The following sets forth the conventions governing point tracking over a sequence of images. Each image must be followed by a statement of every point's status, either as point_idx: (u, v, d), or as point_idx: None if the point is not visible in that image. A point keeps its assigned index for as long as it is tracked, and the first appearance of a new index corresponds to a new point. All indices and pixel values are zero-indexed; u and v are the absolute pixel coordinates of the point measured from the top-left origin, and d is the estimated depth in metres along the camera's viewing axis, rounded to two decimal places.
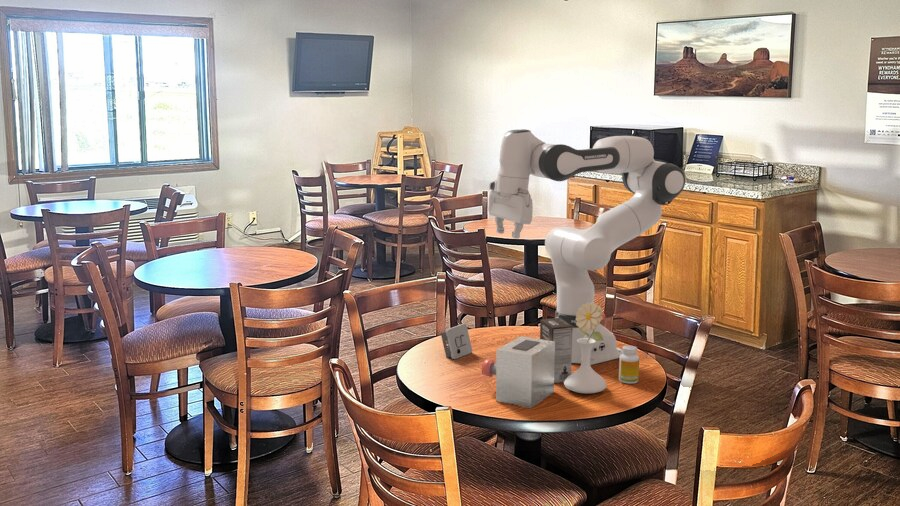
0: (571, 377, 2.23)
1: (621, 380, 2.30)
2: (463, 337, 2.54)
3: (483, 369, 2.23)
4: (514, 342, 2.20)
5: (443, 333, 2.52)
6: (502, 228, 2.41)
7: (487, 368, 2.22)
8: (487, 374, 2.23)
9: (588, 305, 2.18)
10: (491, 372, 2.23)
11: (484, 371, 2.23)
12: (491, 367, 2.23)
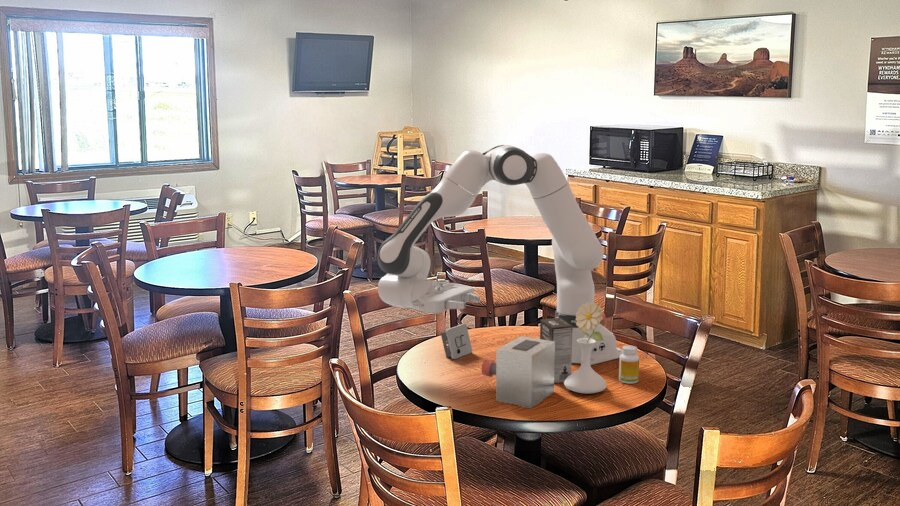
0: (571, 377, 2.23)
1: (621, 380, 2.30)
2: (463, 337, 2.54)
3: (483, 369, 2.23)
4: (514, 342, 2.20)
5: (443, 333, 2.52)
6: (473, 298, 2.32)
7: (487, 368, 2.22)
8: (487, 374, 2.23)
9: (588, 305, 2.18)
10: (491, 372, 2.23)
11: (484, 371, 2.23)
12: (491, 367, 2.23)
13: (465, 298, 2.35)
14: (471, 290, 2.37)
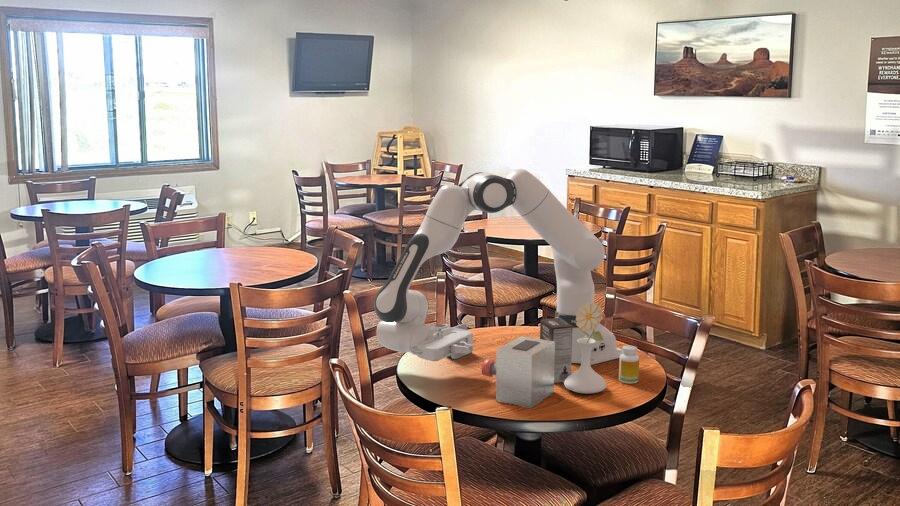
0: (571, 377, 2.23)
1: (621, 380, 2.30)
2: None
3: (483, 369, 2.23)
4: (514, 342, 2.20)
5: None
6: None
7: (487, 368, 2.22)
8: (487, 374, 2.23)
9: (588, 305, 2.18)
10: (491, 372, 2.23)
11: (484, 371, 2.23)
12: (491, 367, 2.23)
13: None
14: (470, 335, 2.36)
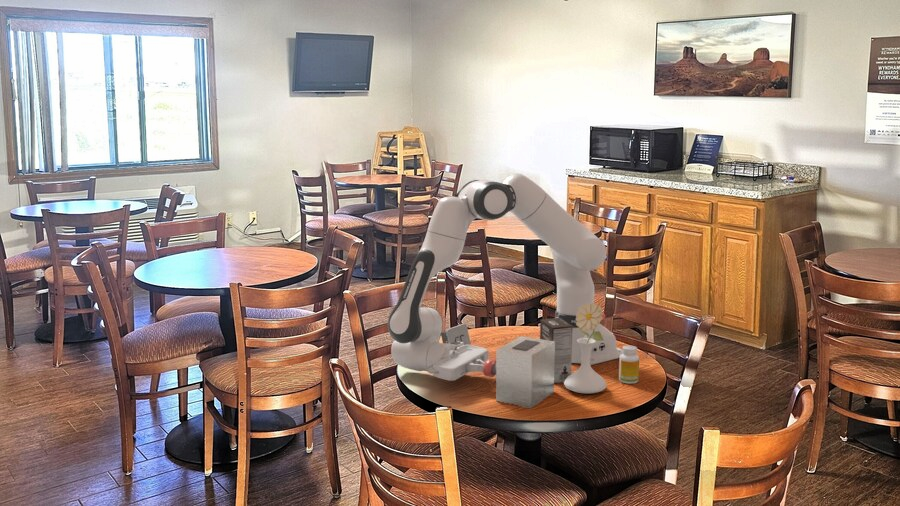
0: (571, 377, 2.23)
1: (621, 380, 2.30)
2: (463, 337, 2.54)
3: (485, 369, 2.23)
4: (514, 342, 2.20)
5: (443, 333, 2.52)
6: None
7: (488, 368, 2.22)
8: (489, 374, 2.23)
9: (588, 305, 2.18)
10: (493, 372, 2.23)
11: (485, 371, 2.23)
12: (493, 367, 2.22)
13: None
14: (486, 352, 2.34)
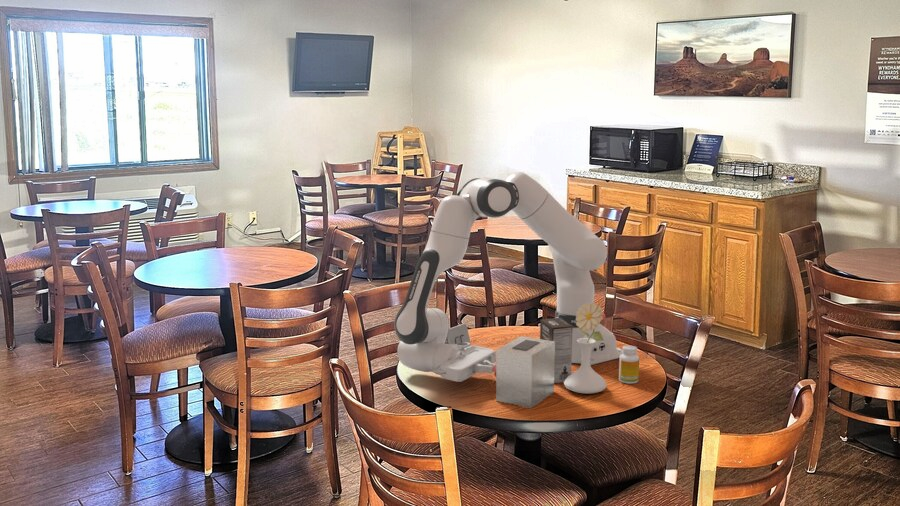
0: (571, 377, 2.23)
1: (621, 380, 2.30)
2: (463, 337, 2.54)
3: None
4: (514, 342, 2.20)
5: None
6: None
7: None
8: None
9: (588, 305, 2.18)
10: None
11: None
12: None
13: None
14: (493, 353, 2.32)
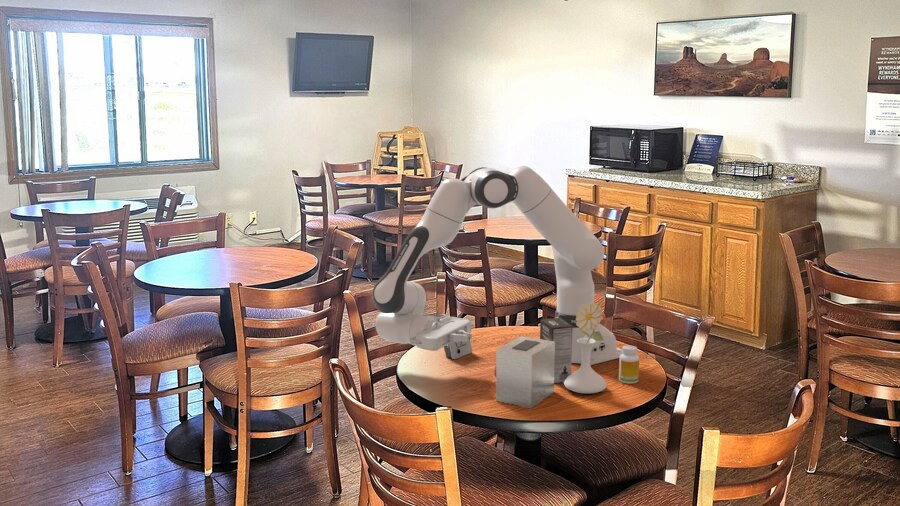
0: (571, 377, 2.23)
1: (621, 380, 2.30)
2: None
3: None
4: (514, 342, 2.20)
5: None
6: None
7: None
8: None
9: (588, 305, 2.18)
10: None
11: None
12: None
13: None
14: (468, 324, 2.38)
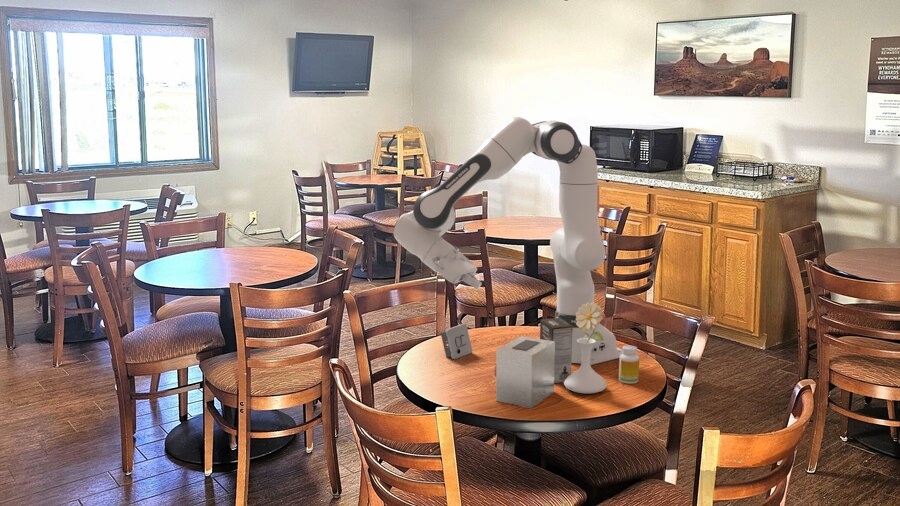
0: (571, 377, 2.23)
1: (621, 380, 2.30)
2: (463, 337, 2.54)
3: None
4: (514, 342, 2.20)
5: (443, 333, 2.52)
6: None
7: None
8: None
9: (588, 305, 2.18)
10: None
11: None
12: None
13: None
14: (476, 270, 2.42)
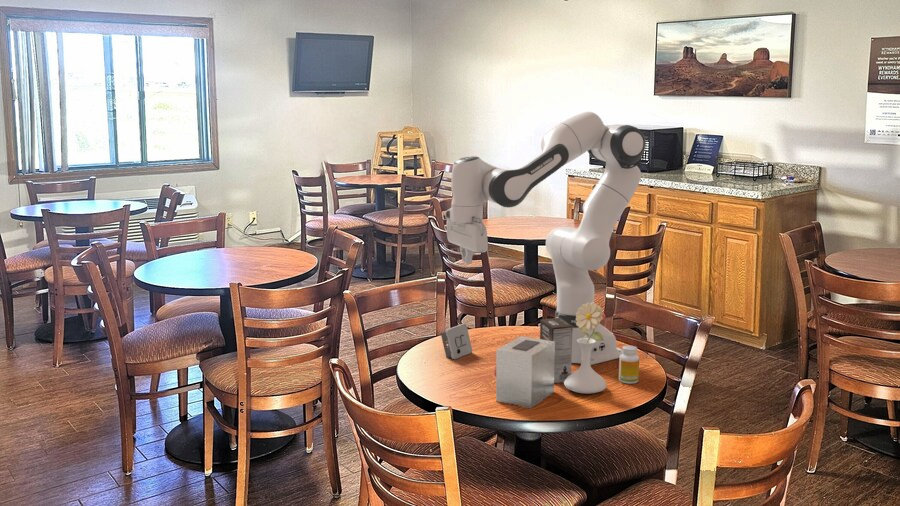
0: (571, 377, 2.23)
1: (621, 380, 2.30)
2: (463, 337, 2.54)
3: None
4: (514, 342, 2.20)
5: (443, 333, 2.52)
6: None
7: None
8: None
9: (588, 305, 2.18)
10: None
11: None
12: None
13: None
14: None
